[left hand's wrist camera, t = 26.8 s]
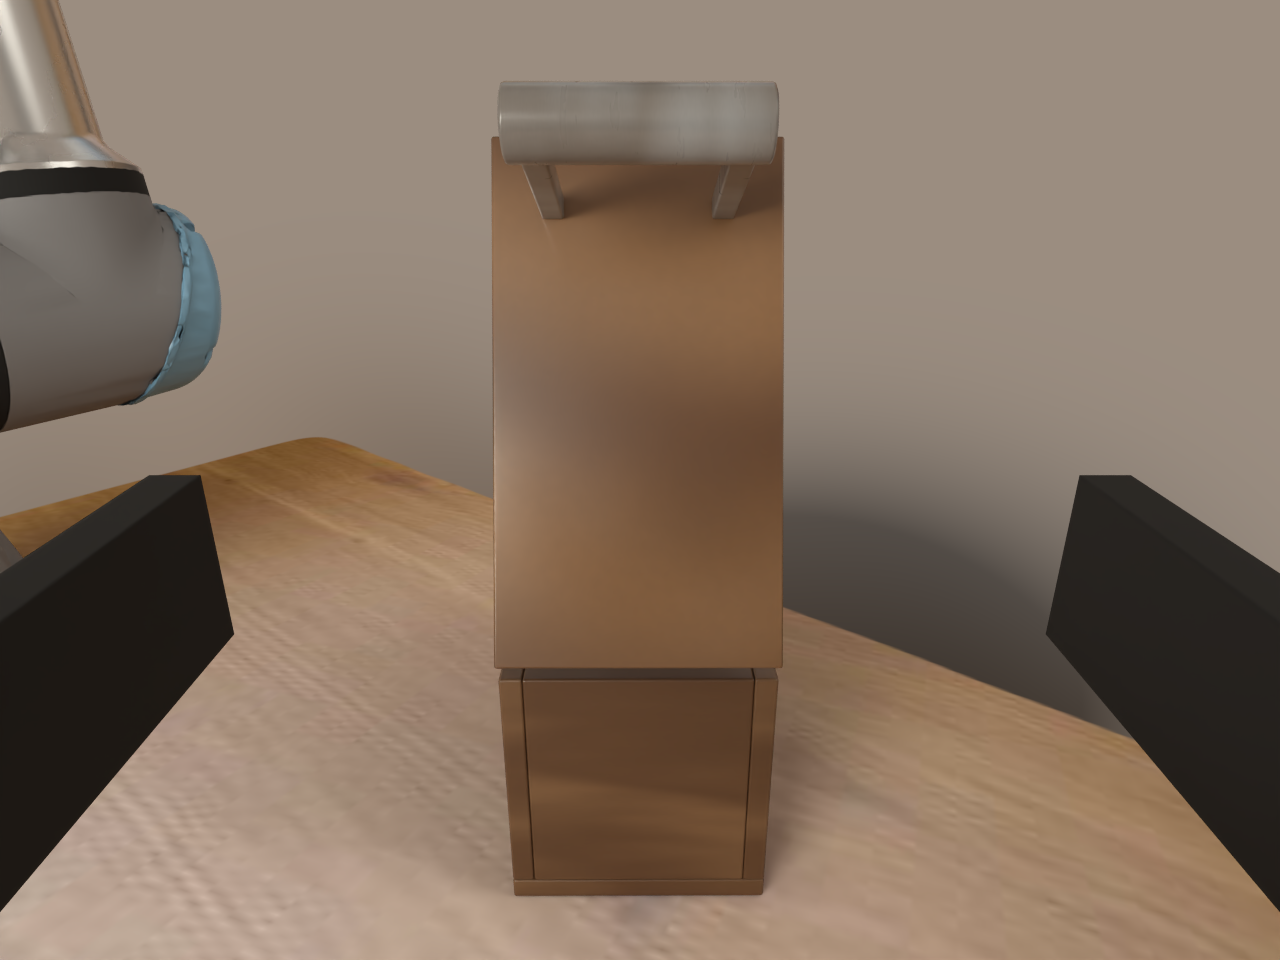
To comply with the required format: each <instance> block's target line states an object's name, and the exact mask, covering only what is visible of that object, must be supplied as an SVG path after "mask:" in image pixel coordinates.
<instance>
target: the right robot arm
mask: <svg viewBox="0 0 1280 960" xmlns="http://www.w3.org/2000/svg"><path fill="white" fill-rule="evenodd" d="M220 323H221V295H220V287H219V281H218V276H217V271H216V268H215V264H214V261H213V258H212V255H211V253H210V250H209V248H208V246H207V244H206V242H205V240H204V238H203V237H202V235H201V234H199V233H197V232H195V228H194V224H193V223H192V222H191V221H190V220H189V219H188V218H187V217H186V216H185V215H183V214H182V213H181V212H179V211H177V210H174V209H171V208H168V207H167V206H165V205H160V204H157V203H155V204H152V201H151V198H150V195H149V192H148V189H147V186H146V182H145V179H144V176H143V173H142V170H141V168H139V167H138V166H136V165H135V164H134V163H132V162H130V161H129V160H127V159H126V158H124V157H123V156H121V155H120V154H118V153H117V152H115V151H114V150H112V149H111V148H109V147H108V145H107V144H106V143H105V142H104V141H103V138H102V135H101V132H100V129H99V125H98V122H97V119H96V116H95V113H94V110H93V107H92V103H91V100H90V97H89V94H88V91H87V88H86V85H85V81H84V78H83V75H82V72H81V69H80V66H79V63H78V60H77V56H76V53H75V50H74V47H73V44H72V41H71V37H70V34H69V31H68V28H67V25H66V22H65V19H64V16H63V12H62V9H61V6H60V3H59V0H0V432H5V431H9V430H13V429H17V428H21V427H26V426H30V425H34V424H39V423H43V422H47V421H51V420H56V419H60V418H64V417H68V416H73V415H77V414H81V413H86V412H90V411H94V410H98V409H103V408H107V407H111V406H115V405H128V404H129V405H133V404H137V403H139V402H141V401H143V400H145V399H146V398H147V397H150V396H153V395H157V394H160V393H164V392H167V391H171V390H174V389H178V388H180V387H183V386H185V385H187V384H188V383H190V382H192V381H193V380H194V379H195V378H197V377H198V376H199V375H200V374H201V372H202V371H203V370H204V369H205V367H206V366H207V364H208V362H209V360H210V359H211V356H212V351H213V348H214V347H215V346H216V344H217V340H218V336H219V331H220ZM21 559H23V557H22V556H21V555H20V553H19V552H18V551H17V550H16V548H15V547H14V546H13V545H12V543H11V542H10V541H9V540H8V539H7V537H6V536H5V535H4V534H3V533H2V531H1V530H0V573H2V572H3V571H5V570H6V569H8V568H9V567H11V566H12V565H14V564H15V563H17V562H18V561H20V560H21Z"/></svg>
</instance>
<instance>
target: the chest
mask: <svg viewBox="0 0 1280 960" xmlns="http://www.w3.org/2000/svg"><path fill="white" fill-rule="evenodd" d="M777 691H778V677H777V674H776V670H775V668H539V669H502V670H501V674H500V678H499V693H500V706H501V719H502V733H503V746H504V759H505V772H506V786H507V799H508V812H509V825H510V839H511V852H512V865H513V877H514V893H515V895H516V896H555V895H762V893H763V881H764V880H763V877H764V867H765V853H766V840H767V826H768V813H769V799H770V786H771V772H772V759H773V745H774V732H775V718H776V705H777Z"/></svg>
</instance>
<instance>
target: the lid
mask: <svg viewBox="0 0 1280 960" xmlns="http://www.w3.org/2000/svg"><path fill="white" fill-rule="evenodd" d="M778 126H779V94H778V89H777V85H776V83H775V82H773V81H503V82H501V84H500V87H499V92H498V129H499V137H492V139H491V148H492V149H491V150H492V331H493V332H492V334H493V517H494V667H495V668H497V669H539V668H781V667H782V666H783V368H784V367H783V366H784V364H783V362H784V138H783V137H778Z"/></svg>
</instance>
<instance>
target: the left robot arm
mask: <svg viewBox="0 0 1280 960" xmlns="http://www.w3.org/2000/svg"><path fill="white" fill-rule="evenodd" d="M233 635H234V631H233V626H232V622H231V617H230V612H229V607H228V603H227V598H226V593H225V589H224V584H223V579H222V575H221V570H220V565H219V560H218V556H217V551H216V546H215V542H214V537H213V532H212V527H211V523H210V518H209V513H208V509H207V504H206V499H205V495H204V490H203V485H202V480H201V476H200V475H149V476H147V477H146V478H144V479H143V480H141V481H140V482H138V483H137V484H135V485H134V486H132V487H131V488H129V489H128V490H126V491H125V492H123V493H122V494H120V495H119V496H117V497H116V498H114V499H112V500H111V501H109V502H108V503H106V504H105V505H103V506H102V507H100V508H99V509H97V510H96V511H94V512H93V513H91V514H90V515H88V516H87V517H85V518H84V519H82V520H81V521H79V522H78V523H76V524H75V525H73V526H71V527H70V528H68V529H67V530H65V531H64V532H62V533H61V534H59V535H58V536H56V537H55V538H53V539H52V540H50V541H49V542H47V543H46V544H44V545H43V546H41V547H40V548H38V549H37V550H35V551H34V552H32V553H30V554H29V555H27V556H26V557H24V558H23V559H21V560H20V561H18V562H17V563H15V564H14V565H12V566H11V567H9V568H8V569H6V570H5V571H3V572H2V573H0V912H1V910H2V909H3V908H4V907H5V906H6V904H7V903H8V902H9V901H10V900H11V899H12V897H13V896H14V895H15V894H16V893H17V891H18V890H19V889H20V888H21V887H22V885H23V884H24V883H25V882H26V881H27V880H28V878H29V877H30V876H31V875H32V874H33V872H34V871H35V870H36V869H37V868H38V866H39V865H40V864H41V863H42V862H43V861H44V859H45V858H46V857H47V856H48V855H49V853H50V852H51V851H52V850H53V849H54V847H55V846H56V845H57V844H58V843H59V842H60V840H61V839H62V838H63V837H64V836H65V834H66V833H67V832H68V831H69V830H70V828H71V827H72V826H73V825H74V824H75V823H76V821H77V820H78V819H79V818H80V817H81V815H82V814H83V813H84V812H85V811H86V809H87V808H88V807H89V806H90V805H91V804H92V802H93V801H94V800H95V799H96V798H97V796H98V795H99V794H100V793H101V792H102V790H103V789H104V788H105V787H106V786H107V785H108V783H109V782H110V781H111V780H112V779H113V777H114V776H115V775H116V774H117V773H118V771H119V770H120V769H121V768H122V767H123V766H124V764H125V763H126V762H127V761H128V760H129V758H130V757H131V756H132V755H133V754H134V752H135V751H136V750H137V749H138V748H139V747H140V745H141V744H142V743H143V742H144V741H145V739H146V738H147V737H148V736H149V735H150V733H151V732H152V731H153V730H154V729H155V728H156V726H157V725H158V724H159V723H160V722H161V720H162V719H163V718H164V717H165V716H166V714H167V713H168V712H169V711H170V710H171V709H172V707H173V706H174V705H175V704H176V703H177V701H178V700H179V699H180V698H181V697H182V695H183V694H184V693H185V692H186V691H187V690H188V688H189V687H190V686H191V685H192V684H193V682H194V681H195V680H196V679H197V678H198V676H199V675H200V674H201V673H202V672H203V671H204V669H205V668H206V667H207V666H208V665H209V663H210V662H211V661H212V660H213V659H214V657H215V656H216V655H217V654H218V653H219V652H220V650H221V649H222V648H223V647H224V646H225V644H226V643H227V642H228V641H229V640H230V638H231V637H232V636H233ZM1046 635H1047V636H1048V637H1049V638H1050V640H1051V641H1052V642H1053V643H1054V644H1055V646H1056V647H1057V648H1058V649H1059V650H1060V651H1061V653H1062V654H1063V655H1064V656H1065V657H1066V659H1067V660H1068V661H1069V662H1070V663H1071V665H1072V666H1073V667H1074V668H1075V669H1076V671H1077V672H1078V673H1079V674H1080V675H1081V676H1082V678H1083V679H1084V680H1085V681H1086V682H1087V684H1088V685H1089V686H1090V687H1091V688H1092V690H1093V691H1094V692H1095V693H1096V694H1097V695H1098V697H1099V698H1100V699H1101V700H1102V701H1103V703H1104V704H1105V705H1106V706H1107V707H1108V709H1109V710H1110V711H1111V712H1112V713H1113V714H1114V716H1115V717H1116V718H1117V719H1118V720H1119V722H1120V723H1121V724H1122V725H1123V726H1124V728H1125V729H1126V730H1127V731H1128V732H1129V733H1130V735H1131V736H1132V737H1133V738H1134V739H1135V741H1136V742H1137V743H1138V744H1139V745H1140V747H1141V748H1142V749H1143V750H1144V751H1145V752H1146V754H1147V755H1148V756H1149V757H1150V758H1151V760H1152V761H1153V762H1154V763H1155V764H1156V766H1157V767H1158V768H1159V769H1160V770H1161V771H1162V773H1163V774H1164V775H1165V776H1166V777H1167V779H1168V780H1169V781H1170V782H1171V783H1172V785H1173V786H1174V787H1175V788H1176V789H1177V790H1178V792H1179V793H1180V794H1181V795H1182V796H1183V798H1184V799H1185V800H1186V801H1187V802H1188V804H1189V805H1190V806H1191V807H1192V808H1193V809H1194V811H1195V812H1196V813H1197V814H1198V815H1199V817H1200V818H1201V819H1202V820H1203V821H1204V823H1205V824H1206V825H1207V826H1208V827H1209V828H1210V830H1211V831H1212V832H1213V833H1214V834H1215V836H1216V837H1217V838H1218V839H1219V840H1220V842H1221V843H1222V844H1223V845H1224V846H1225V847H1226V849H1227V850H1228V851H1229V852H1230V853H1231V855H1232V856H1233V857H1234V858H1235V859H1236V861H1237V862H1238V863H1239V864H1240V865H1241V866H1242V868H1243V869H1244V870H1245V871H1246V872H1247V874H1248V875H1249V876H1250V877H1251V878H1252V880H1253V881H1254V882H1255V883H1256V884H1257V885H1258V887H1259V888H1260V889H1261V890H1262V891H1263V893H1264V894H1265V895H1266V896H1267V897H1268V899H1269V900H1270V901H1271V902H1272V903H1273V904H1274V906H1275V907H1276V908H1277V909H1278V910H1279V912H1280V573H1278V572H1277V571H1275V570H1274V569H1272V568H1271V567H1269V566H1268V565H1266V564H1265V563H1263V562H1262V561H1260V560H1259V559H1257V558H1256V557H1254V556H1253V555H1251V554H1250V553H1248V552H1246V551H1245V550H1243V549H1242V548H1240V547H1239V546H1237V545H1236V544H1234V543H1233V542H1231V541H1230V540H1228V539H1227V538H1225V537H1224V536H1222V535H1221V534H1219V533H1218V532H1216V531H1215V530H1213V529H1212V528H1210V527H1209V526H1207V525H1205V524H1204V523H1202V522H1201V521H1199V520H1198V519H1196V518H1195V517H1193V516H1192V515H1190V514H1189V513H1187V512H1186V511H1184V510H1183V509H1181V508H1180V507H1178V506H1177V505H1175V504H1174V503H1172V502H1171V501H1169V500H1168V499H1166V498H1164V497H1163V496H1161V495H1160V494H1158V493H1157V492H1155V491H1154V490H1152V489H1151V488H1149V487H1148V486H1146V485H1145V484H1143V483H1142V482H1140V481H1139V480H1137V479H1136V478H1134V477H1133V476H1131V475H1080V476H1079V481H1078V485H1077V490H1076V495H1075V499H1074V504H1073V509H1072V513H1071V518H1070V523H1069V528H1068V532H1067V537H1066V542H1065V546H1064V551H1063V556H1062V561H1061V565H1060V570H1059V575H1058V579H1057V584H1056V589H1055V593H1054V598H1053V603H1052V608H1051V612H1050V617H1049V622H1048V626H1047V631H1046Z"/></svg>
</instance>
